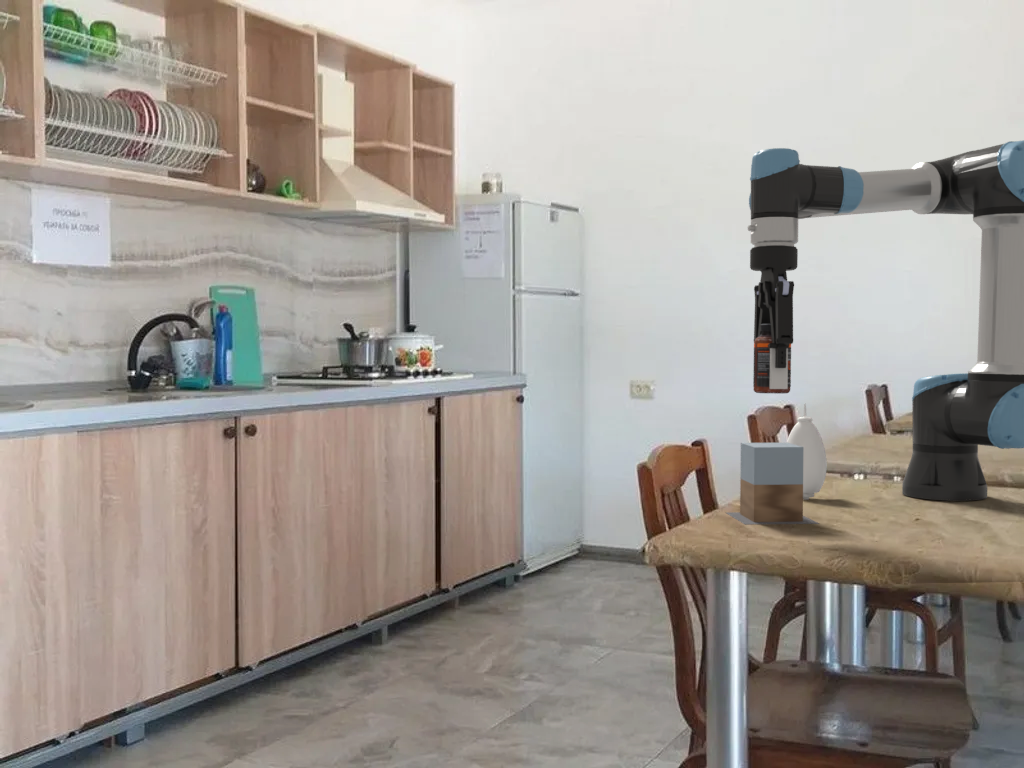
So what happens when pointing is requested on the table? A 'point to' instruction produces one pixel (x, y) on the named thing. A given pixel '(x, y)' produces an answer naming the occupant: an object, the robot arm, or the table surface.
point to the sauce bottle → (810, 454)
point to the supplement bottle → (766, 363)
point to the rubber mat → (749, 522)
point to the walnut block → (771, 502)
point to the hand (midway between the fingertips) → (772, 387)
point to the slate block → (771, 463)
